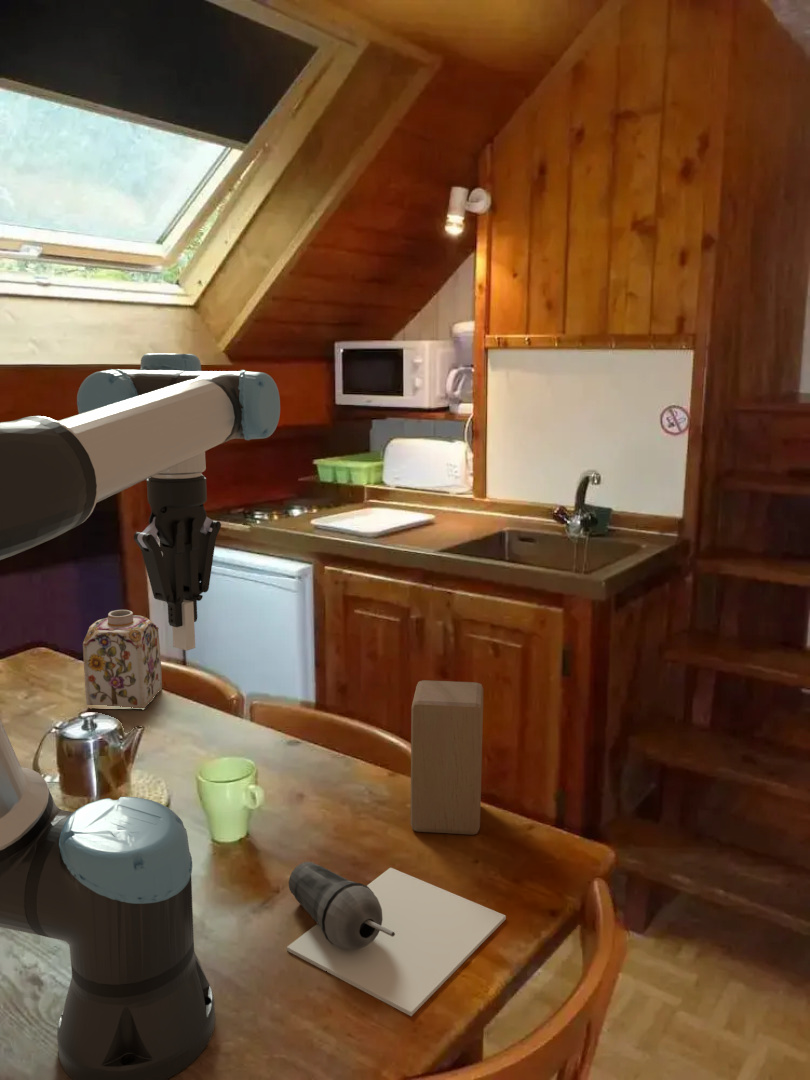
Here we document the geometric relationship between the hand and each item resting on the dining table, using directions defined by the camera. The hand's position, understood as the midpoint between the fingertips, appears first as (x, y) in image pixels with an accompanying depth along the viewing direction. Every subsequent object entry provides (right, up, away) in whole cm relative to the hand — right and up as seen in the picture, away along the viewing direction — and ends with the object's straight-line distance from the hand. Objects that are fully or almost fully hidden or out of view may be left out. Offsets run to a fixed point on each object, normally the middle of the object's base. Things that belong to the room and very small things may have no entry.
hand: (184, 647), depth 119 cm
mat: (+29, -32, -15) cm, 46 cm away
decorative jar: (-26, -18, +56) cm, 64 cm away
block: (+36, -27, +12) cm, 47 cm away
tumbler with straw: (+17, -28, -8) cm, 34 cm away
